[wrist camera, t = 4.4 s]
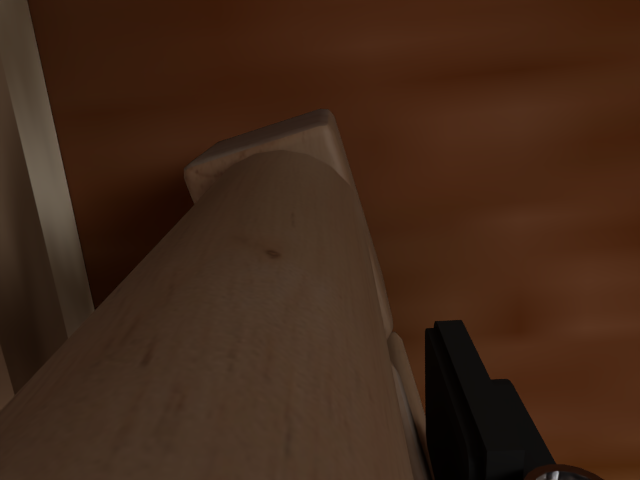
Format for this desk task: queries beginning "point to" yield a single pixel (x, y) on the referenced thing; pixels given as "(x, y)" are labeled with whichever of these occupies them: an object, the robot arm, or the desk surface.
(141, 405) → the wooden block
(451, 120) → the desk surface
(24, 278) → the marking board
